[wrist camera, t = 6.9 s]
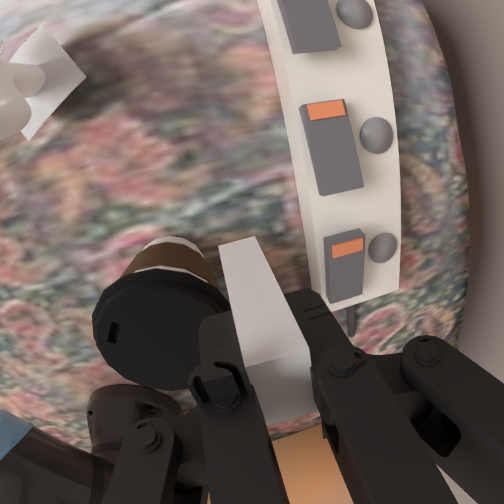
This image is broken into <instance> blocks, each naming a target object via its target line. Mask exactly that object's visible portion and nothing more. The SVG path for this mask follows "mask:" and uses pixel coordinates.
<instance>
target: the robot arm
mask: <svg viewBox="0 0 504 504" xmlns="http://www.w3.org/2000/svg"><path fill="white" fill-rule="evenodd" d="M218 248H219V253H220V258H221V262H222V267H223V272H224V276H225V281H226V286H227V290H228V295H229V300H230V304H231V309H232V310H230V311H227V312H223V313H219V314H215V315H212V316H208V317H204V318H203V320H202V322H201V324H200V326H199V328H198V334H199V342H200V343H199V347H200V359H201V364H200V365H199V366H197V367H196V368H195V369H194V370H193V371H192V373H191V374H190V376H189V378H188V383H187V386H188V388H189V390H190V392H191V393H192V395H193V397H194V399H195V400H196V402H197V406H196V407H195V408H194V409H192V410H191V411H190V412H189V413H187V414H185V415H184V413H183V411H182V409H181V408H180V406H179V405H178V404H177V403H176V402H174V401H173V400H172V399H170V398H169V397H167V396H165V395H163V394H161V393H159V392H157V391H154V390H151V389H148V388H144V387H140V386H134V385H110V386H106V387H102V388H100V389H98V390H96V391H95V392H94V393H93V394H92V395H91V396H90V398H89V402H88V406H87V421H88V427H89V433H90V438H91V443H92V451H91V454H90V453H88V452H86V451H84V450H81V449H79V448H77V447H75V446H73V445H70V444H68V443H66V442H64V441H62V440H60V439H58V438H56V437H54V436H52V435H50V434H48V433H46V432H44V431H42V430H40V429H38V428H37V427H35V426H33V425H34V424H33V423H31V422H29V423H28V422H26V421H24V420H22V419H21V418H19V417H17V416H15V415H13V414H11V413H10V412H7V411H4V410H0V504H207V500H208V493H209V494H210V500H211V504H290V503H289V500H288V496H287V493H286V489H285V486H284V483H283V479H282V476H281V472H280V470H279V466H278V462H277V459H276V455H275V452H274V448H273V445H272V441H271V439H270V436H269V433H268V429H267V426H270V425H273V424H277V423H281V422H284V421H287V420H291V419H294V418H297V417H301V416H304V415H307V414H310V413H313V412H316V411H317V409H316V406H317V408H318V410H319V413H320V415H321V421H322V433H323V439H325V438H327V440H328V442H329V444H330V446H331V449H332V452H333V454H334V456H335V459H336V462H337V464H338V466H339V469H340V471H341V474H342V476H343V479H344V481H345V483H346V486H347V488H348V491H349V493H350V496H351V498H352V501H353V503H354V504H458V502H457V501H456V499H455V497H454V495H453V493H452V492H451V490H450V488H449V486H448V484H447V483H446V481H445V479H444V477H443V476H442V474H441V472H440V470H439V469H438V467H437V465H438V466H439V467H440V468H441V469H442V470H443V471H444V472H445V473H446V474H447V475H448V476H449V477H450V478H451V479H452V480H454V481H455V482H456V483H457V484H458V485H459V486H460V487H461V488H462V489H463V490H464V491H465V492H466V493H467V494H468V495H469V496H470V497H471V498H472V499H474V500H475V501H476V502H477V503H478V504H504V384H503V383H502V382H501V381H499V380H498V379H497V378H495V377H494V376H493V375H491V374H490V373H489V372H487V371H486V370H484V369H483V368H482V367H480V366H479V365H478V364H476V363H475V362H473V361H472V360H471V359H469V358H468V357H466V356H465V355H464V354H462V353H461V352H460V351H458V350H457V349H455V348H454V347H453V346H451V345H450V344H448V343H447V342H446V341H444V340H442V339H440V338H438V337H436V336H429V335H424V336H417V337H415V338H413V339H411V340H409V342H408V343H407V344H406V345H405V346H404V348H403V352H402V353H395V354H387V355H371V354H366V353H365V352H364V351H363V350H362V349H360V348H357V347H355V346H353V345H352V343H351V342H350V341H349V339H348V337H347V336H346V334H345V333H344V331H343V330H342V328H341V326H340V325H339V323H338V322H337V320H336V319H335V317H334V316H333V314H332V313H331V311H330V309H329V308H328V306H326V303H325V302H324V300H323V299H322V297H321V295H320V294H319V293H317V292H315V291H314V290H312V289H310V288H308V287H307V288H304V289H301V290H297V291H294V292H290V293H287V294H284V295H283V293H282V291H281V289H280V287H279V285H278V283H277V281H276V279H275V277H274V275H273V272H272V270H271V268H270V266H269V264H268V262H267V260H266V258H265V256H264V254H263V252H262V250H261V248H260V246H259V244H258V242H257V240H256V238H255V236H253V237H249V238H246V239H242V240H238V241H234V242H231V243H227V244H223V245H220V246H218ZM435 463H436V464H437V465H436V464H435Z"/></svg>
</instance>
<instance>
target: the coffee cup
mask: <svg viewBox="0 0 504 504" xmlns="http://www.w3.org/2000/svg"><path fill="white" fill-rule="evenodd" d="M230 310H232V309H231V304H230V303H229V302H228V300H227V299H226V298H225V297H224V296H223V295H222V293H221V292H220V290H219V287H218V285H217V282H216V280H215V278H214V275H213V273H212V270H211V268H210V265H209V264H208V263H207V262H206V260H205V258H204V255H203V254H202V253H201V251H200V250H199V249H198V248H197V246H196V245H195V244H193V243H191V242H190V241H188V240H186V239H184V238H180V237H173V236H167V237H162V238H158V239H155V240H154V241H152V242H151V243H150V244H148V245H147V246H145V248H144V249H143V250H142V251H141V252H140V253H139V254H137V255H136V257H135V258H134V259H133V261H132V262H131V263H130V265H129V266H128V268H127V269H126V270H125V272H124V273H123V274H122V276H121V277H120V279H118V280H117V281H116V282H114V283H113V284H111V285H110V286H109V287H107V288H106V289H104V291H103V293H102V295H101V297H100V299H99V301H98V303H97V305H96V307H95V309H94V312H93V314H92V323H93V336H94V339H95V341H96V346H97V347H98V349H99V351H100V352H101V354H102V356H103V358H104V359H105V361H106V362H107V364H108V365H109V366H110V367H112V368H113V369H114V370H115V371H117V372H118V373H119V374H120V375H122V376H123V377H124V378H126V379H127V380H130V381H132V382H135V383H137V384H140V385H142V386H145V387H147V388H153V389H161V390H169V391H174V390H181V389H188V386H187V383H188V378H189V376H190V374H191V373H192V371H193V370H194V369H195V368H196V367H197V366H199V365H200V364H201V359H200V347H199V343H200V342H199V334H198V328H199V326H200V324H201V322H202V320H203V318H204V317H208V316H212V315H215V314H219V313H223V312H227V311H230Z"/></svg>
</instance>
